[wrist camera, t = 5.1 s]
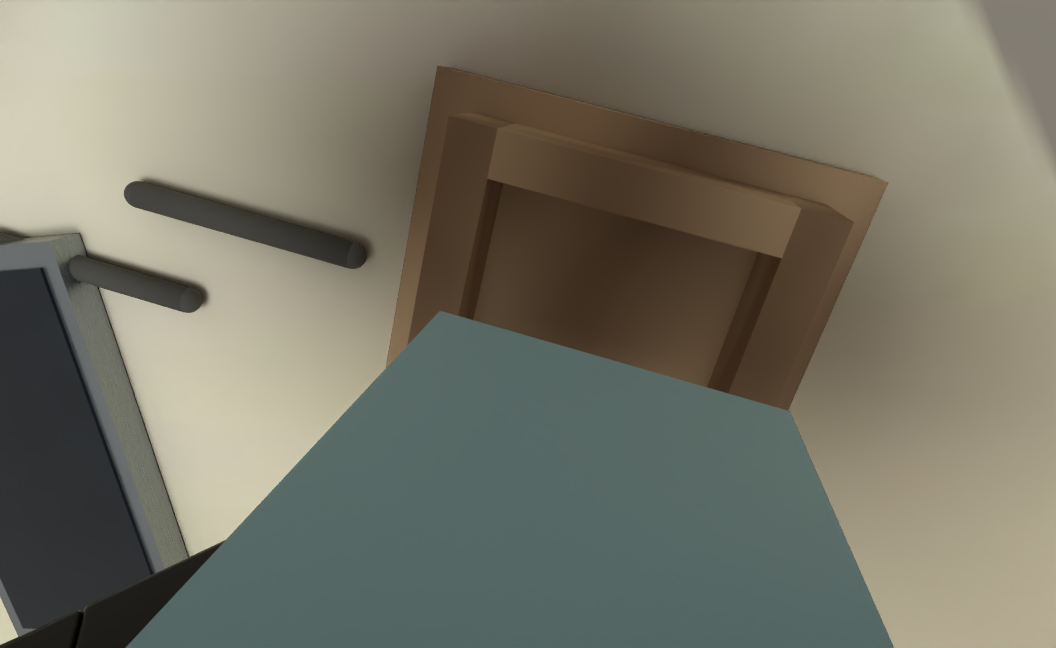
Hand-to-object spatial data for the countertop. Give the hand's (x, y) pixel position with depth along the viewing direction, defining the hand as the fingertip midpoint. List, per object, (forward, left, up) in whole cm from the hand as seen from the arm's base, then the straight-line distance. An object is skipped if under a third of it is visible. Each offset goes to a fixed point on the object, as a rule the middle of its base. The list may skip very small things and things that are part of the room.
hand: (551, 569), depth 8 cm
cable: (+12, +1, -9) cm, 15 cm away
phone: (+16, +9, -9) cm, 20 cm away
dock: (0, 0, -9) cm, 9 cm away
